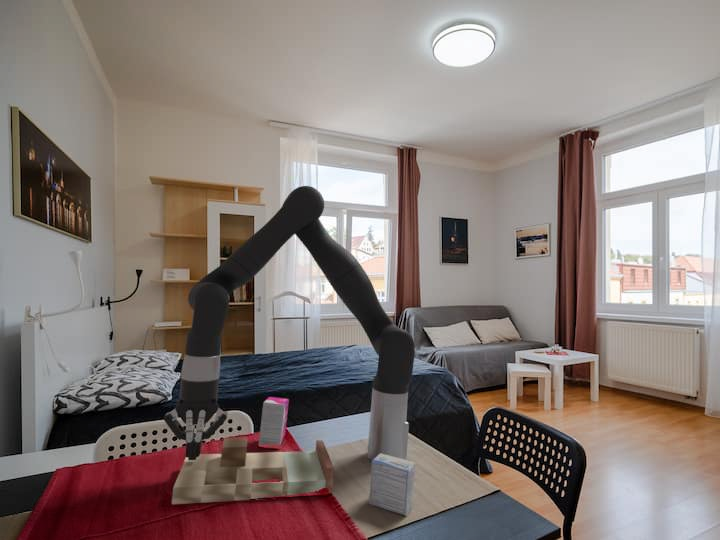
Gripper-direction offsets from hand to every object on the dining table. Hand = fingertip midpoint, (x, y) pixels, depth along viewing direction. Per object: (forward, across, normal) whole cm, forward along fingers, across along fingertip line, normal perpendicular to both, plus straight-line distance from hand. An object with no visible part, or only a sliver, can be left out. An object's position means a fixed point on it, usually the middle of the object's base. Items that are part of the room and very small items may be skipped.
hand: (192, 458), depth 80 cm
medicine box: (+4, -39, +15) cm, 42 cm away
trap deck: (+4, -13, +3) cm, 14 cm away
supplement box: (+4, -17, -16) cm, 24 cm away
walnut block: (+1, -8, 0) cm, 8 cm away
